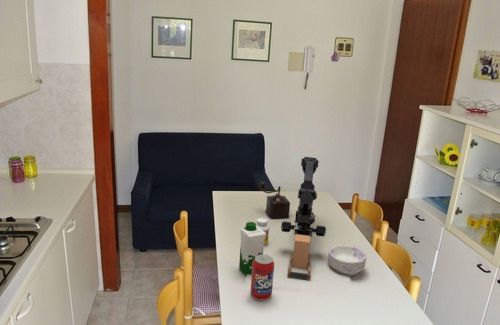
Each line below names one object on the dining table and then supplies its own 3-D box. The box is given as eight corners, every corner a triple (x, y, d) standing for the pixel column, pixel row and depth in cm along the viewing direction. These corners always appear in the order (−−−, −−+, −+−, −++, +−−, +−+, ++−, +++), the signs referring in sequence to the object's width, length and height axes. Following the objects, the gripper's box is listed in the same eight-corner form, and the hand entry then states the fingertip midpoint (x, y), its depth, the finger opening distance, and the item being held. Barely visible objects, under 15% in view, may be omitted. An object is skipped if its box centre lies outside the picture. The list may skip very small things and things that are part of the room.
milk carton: (254, 264, 172) (258, 220, 167) (265, 274, 165) (269, 229, 159) (235, 268, 168) (238, 223, 163) (245, 279, 161) (249, 232, 155)
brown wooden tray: (289, 258, 178) (290, 251, 177) (310, 261, 177) (311, 254, 176) (286, 280, 161) (287, 272, 160) (309, 284, 160) (310, 275, 159)
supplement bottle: (266, 250, 184) (268, 224, 180) (251, 248, 185) (253, 222, 182) (268, 243, 190) (270, 218, 187) (254, 241, 191) (256, 216, 188)
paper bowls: (319, 263, 176) (321, 247, 174) (349, 258, 182) (351, 242, 180) (340, 282, 162) (343, 265, 160) (371, 276, 168) (374, 259, 166)
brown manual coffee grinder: (282, 210, 229) (285, 180, 224) (289, 218, 219) (292, 187, 214) (255, 211, 226) (258, 180, 221) (261, 220, 215) (263, 187, 210)
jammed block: (293, 259, 174) (295, 234, 171) (307, 261, 174) (310, 235, 170) (292, 267, 169) (294, 240, 165) (306, 269, 168) (309, 242, 165)
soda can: (259, 286, 156) (261, 251, 152) (275, 295, 152) (279, 258, 148) (245, 295, 151) (248, 258, 146) (262, 304, 146) (265, 266, 142)
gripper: (283, 203, 174) (279, 238, 167) (328, 209, 172) (325, 244, 164) (283, 214, 184) (279, 247, 177) (325, 219, 182) (323, 253, 174)
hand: (301, 248), depth 173 cm, fingers closed, pressing on jammed block
